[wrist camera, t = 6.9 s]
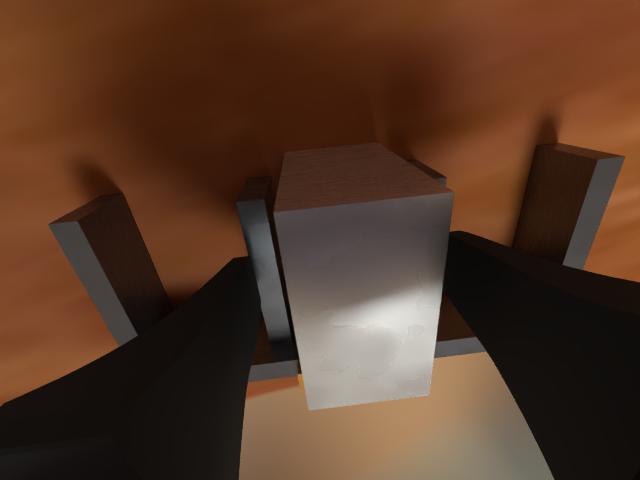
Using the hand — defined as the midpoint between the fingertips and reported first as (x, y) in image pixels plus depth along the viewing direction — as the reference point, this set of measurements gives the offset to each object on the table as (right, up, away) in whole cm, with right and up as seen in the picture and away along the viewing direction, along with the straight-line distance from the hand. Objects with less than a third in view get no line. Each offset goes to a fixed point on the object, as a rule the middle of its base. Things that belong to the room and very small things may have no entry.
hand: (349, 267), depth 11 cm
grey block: (0, +2, +3) cm, 4 cm away
